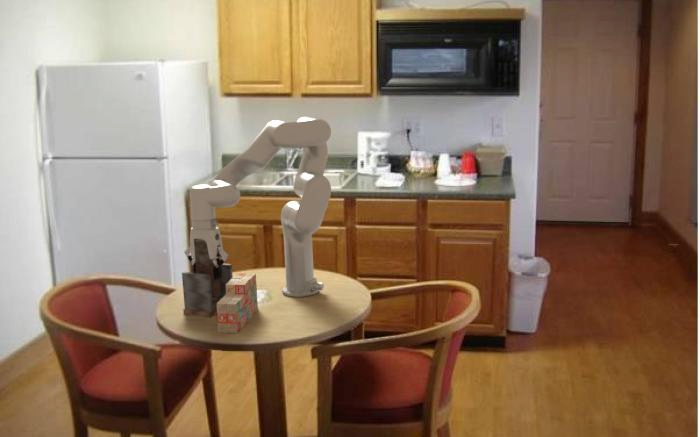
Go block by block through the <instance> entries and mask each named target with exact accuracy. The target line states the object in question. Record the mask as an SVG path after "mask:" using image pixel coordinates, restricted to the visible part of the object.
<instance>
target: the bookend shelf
mask: <svg viewBox="0 0 700 437" xmlns="http://www.w3.org/2000/svg"><path fill="white" fill-rule="evenodd" d="M221 268H222V277H221V278H219V280H220V295H219V296H218V297H216V298H212V292H211V279H210V275H207V274H199V273H193V272H192V271H191V272H188V271H182V272H181V279H182V281H181V282H182V290H183V303H184V304H183V305H184V308H182V311H183V315H190V316H197V317H203V318H212V317H213V316H215V315H217V303H218V302H219V301H220V299H222V298H223V297H224V296H225V295H226V284H227V283H228V282H229V281H230V279H232V277H233V276H234V275H233V264H232V263H225V262H224V264H223V265H222V266H221Z"/></svg>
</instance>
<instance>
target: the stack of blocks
mask: <svg viewBox="0 0 700 437" xmlns="http://www.w3.org/2000/svg"><path fill="white" fill-rule="evenodd" d="M258 310H259V305H258V287H257V274H256V273H250V272H249V273H246V272H245V273H235V275H233V277H232V279H230V281H229V282H228V283H227V284H226V295H225V296H224V297H223V298H222V299H220V301H219V302H218V303H217V314H216V320H217V333H223V334H224V333H225V334H226V333H227V334H229V333H231V334H238V333H239V332H240V330H241V329H243V328H244V326H245V325H246V324H247V322H248V321H249V320H250V319H251V318H252V316H253V315H255V313H256V312H257V311H258Z"/></svg>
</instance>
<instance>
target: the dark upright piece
mask: <svg viewBox="0 0 700 437" xmlns="http://www.w3.org/2000/svg"><path fill="white" fill-rule="evenodd" d="M194 249H195V263H196V273H199V274H207V275H210V279H211V292H212V298H216V297H218V296H219V295H220V280H219V279H217V280H215V279H214V268H215V265H214V263H213V261H212V260H211V259H210V257H209V253H208V247H207V243H206V241H200V240H198V239H194ZM216 260H217V259H216Z"/></svg>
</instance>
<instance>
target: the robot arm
mask: <svg viewBox="0 0 700 437" xmlns="http://www.w3.org/2000/svg"><path fill="white" fill-rule="evenodd" d="M331 136H332V128H331V126H330V124H329V123H328V121H326V120H324V119H321V118H317V117H313V116H302V117H299V118H298V119H297V120H296V121H284V120H279V119H274V120H271V121H269V122H267V124H266V125H265V126H264V127H263V128H262V130H261V131H260V132H259V133H258V134H257V135H256V137H255V138H254V139H253V140H252V141H251V143H250V144H249V145H248V146H247V147H246V149H244V150H243V151H242V153H240V154H239V155H237V156H236V157H235V158H234V159H233V160H230V162H229V163H227V164H226V165H225V166H224V167H223V168H222V169H221V170H220V171H219V173H217V175H216V176H215V177H214V179H213V180H212V181H211V183H210V184H197V185H192V186H191V187H190V189H189V203H190V218H191V228H190V233H189V247H187V248H186V250H184V254H185V256H186V257H187V259H188V261H189V262H190V264H191V266H192V269H193V270H192V273H196V263H195V249H194V239H198V240H200V241H206V243H207V247H208V253H209V257H210V259H211V260H212V261H213V263H214V265H215V268H214V279H215V280H217V279H219V278H221V277H222V268H221V266H222V265H223V264H224V263H225V262H226V260H227V259H228V258H229V254H228V253H227V252H226V251H225V250H224V248H223V247H224V246H223V241H222V236H221V231H220V228H219V224H220V223H219V221H217V220H216V219H217V218H216V208H232V207H234V206H236V205H237V204H238V203H239V201H240V199H241V192H240V189H239V188H238V187H237V186H238V185H239V184H240V183H241V182H242V181H243V180H245V178H247V177H249V176H251V175H253V174H257V173H259V172H262V171H263V170H264V169H265V168H266V167H267V166H268V165H269V163H270V162H271V161H272V160H273V158H274V157H276V155H277V154H278V153H279V151H281V149H286V150H288V149H290V150H291V149H301V148H302V156H301V160H300V162H299V165H298V169H297V171H296V176H295V178H294V182H293V186H292V188H293V191H294V193H295V194H296V195H297V196H298V197H299V198H301V199H300V200H290V201H288V202H287V203H285V204H284V206H283V207H282V209H281V212H280V224H281V228H282V233H283V244H284V265H285V266H284V267H285V282H286V283H285V284H286V285H284V286H283V287H282V289H281V292H282V294H283V295H284V296H287V297H292V298H293V297H294V298H303V297H309V296H313V295H315V294H317V293H318V292H319V291H323V290H324V288H325V287H324V286H325V285H324V282H318V281H317V277H315V276H314V257H313V256H314V255H313V254H314V252H313V250H314V249H313V234H314V233H316V232H317V231H319V229H320V227H321V225H322V224H323V220H324V217H325V214H326V211H327V208H328V205H329V203H330V199H331V194H332V185H331V183H330V182H331V181H330V180H329V179H328V178H327V176H325V175H324V173H325V170H326V166H327V163H328V158H329V150H328V145H327V142H329V139H330V138H331ZM216 259H217V260H216Z"/></svg>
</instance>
